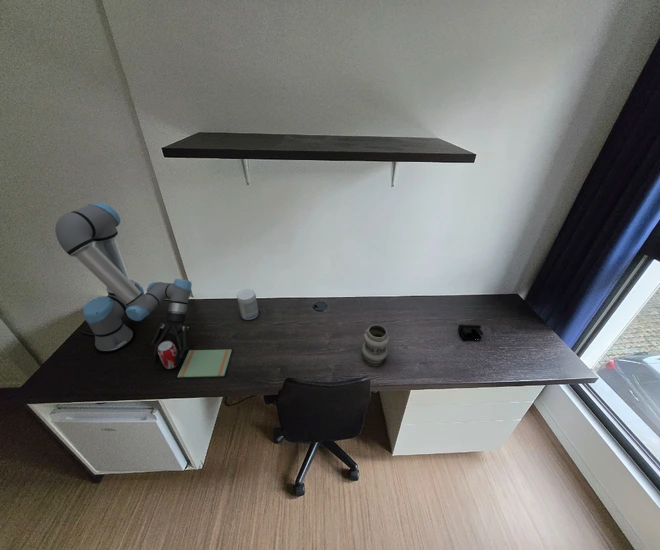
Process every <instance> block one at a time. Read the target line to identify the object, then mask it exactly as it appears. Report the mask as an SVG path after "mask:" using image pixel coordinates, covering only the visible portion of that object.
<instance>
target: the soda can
mask: <svg viewBox="0 0 660 550" xmlns="http://www.w3.org/2000/svg"><path fill="white" fill-rule="evenodd" d="M177 350H178V349H177V346H176V345H175V343H174V342H173V341H171V340H165V341H164V342H162V343H161V344H160V345H159V346H158V354H159V357H160V358H159V360H160V361H161V363H162V366H164V368H165V369H167V370H171V369H174V368H177V366H174V364H175V359H176V354H177Z"/></svg>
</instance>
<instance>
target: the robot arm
mask: <svg viewBox="0 0 660 550" xmlns="http://www.w3.org/2000/svg"><path fill="white" fill-rule="evenodd" d="M120 224H121V217H120V215H119V214H118V212H117V211H116V210H115V209H114V208H112V206H110V205H109V204H106V203H104V202H93V203H90V204H87V205H85V206H82V207H80V208H78V209H74V210H72V211H70V212H67V213H64V214H63V215H61V216H60V217H59V218H58V219H57V221H56V223H55V229H54V230H55V236H56V239H57V241H58V244H59V245H60V247H61V248H62V250H63V251H64V252H65V253H67V255H69V257H74V258H76V259H77V260H78V261H79V262H80V263H81V264H82V265H84V266H85V267H86V268H87V270H88V271H90V272H91V273H92V274H93V275H94V276H95V277H96V278H97V279H98V280H99V281H100V282H101V283H102V284H103V285H105V287H106V292H107V295H106V296H105V295H103V296H102V295H101V296H98V297H96V298H93V299H90V300H89V301H87V303H86V304H85V305H84V306H83V308H82V315H83V318H84V321H85V322H87V324H88V326H89V328H90V330H91V332H92V333H91V332H86V331H82V332H81V333H82V334H86V335H89V336H94V345H95V348H96V349H97V351H98V352H101V353H103V354H105V353H106V354H107V353H113V352H116V351H120V350H121V349H124V348H125V347H126V346H128V345H129V344H130V343H131V342H132V341H133V339H134V332H133V330H132V329H131V328H129V326H127V325H126V324H125V323H124V322H123V320H122V318H123V316H125V315H127V317H128V318H129V319H130V320H133V321H135V322H141V321H143V320H144V319H145V318H146V317H149V315H150V314H151V313H152V312H153V311H154V310H156V309H157V307H159V306H160V305H161V304H162V303H164V301H166V300H169V303H168V309H167V311H168V312H167V313H166V318H165V323H158V325H157V329H156V331H155V334H154V336H153V338H152V340H151V343H150V346H152V347H153V348H154V349H153V353H152V354H153V360H152V363H153V364H158V363H160V357H159V354H158V346H159V345H160V344H161V343H162V342H165V341H166V339H167V338H168V337H169V335H174V336H175V337H176V338H175V340H176V343H177V346H178V349H177V354H176V359H175V364H174V366H176V367H177V366H180V365H181V364H180V363H181V359H183V357H184V353H185V351H186V350H190V335H189V334H190V330H191V327H190V326H185V325H184V324H185V320H186V313H187V310H188V305H189V299H190V296H191V292H192V281H190V280H188V279H182V278H175V279H174V281H173V283H172V282H163V281H153V282H150V283H149V284H148V286H147V288H146V293H145V291H144V288H143V287H142V286H141V285H140V283H139V282H137V281H134V280H133V279H131V278H130V275H129V273H128V270H127V267H126V265H125V261H124V259H123V255H122V253H121V250H120V247H119V245H118V241H117V239H116V238H117V237H118V235H119V231H118V229H117V227H118V226H119V225H120ZM182 332H183V333H182Z"/></svg>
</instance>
